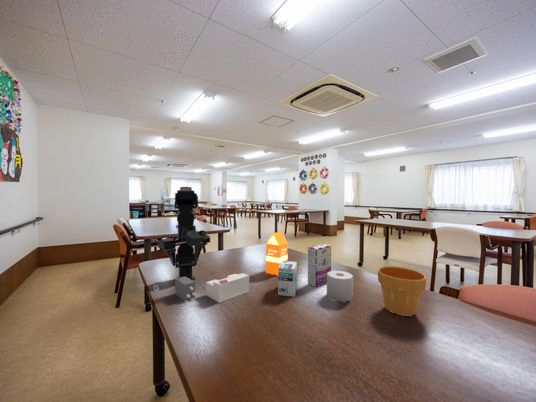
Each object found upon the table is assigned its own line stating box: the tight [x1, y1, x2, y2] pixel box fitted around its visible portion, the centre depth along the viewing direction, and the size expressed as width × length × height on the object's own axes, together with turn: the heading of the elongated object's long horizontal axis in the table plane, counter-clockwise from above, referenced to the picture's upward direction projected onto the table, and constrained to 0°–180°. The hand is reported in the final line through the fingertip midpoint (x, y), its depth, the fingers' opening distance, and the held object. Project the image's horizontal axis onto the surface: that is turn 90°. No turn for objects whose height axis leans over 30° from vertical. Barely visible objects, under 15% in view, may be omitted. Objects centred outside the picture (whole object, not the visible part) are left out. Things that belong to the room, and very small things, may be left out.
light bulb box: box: [277, 260, 298, 298], centre depth 95 cm, size 11×7×11 cm, turn 168°
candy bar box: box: [307, 243, 332, 288], centre depth 104 cm, size 11×5×16 cm, turn 131°
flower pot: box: [377, 266, 427, 315], centre depth 79 cm, size 14×14×13 cm
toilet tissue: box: [326, 270, 354, 303], centre depth 92 cm, size 9×13×9 cm
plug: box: [174, 277, 197, 302], centre depth 88 cm, size 10×4×6 cm, turn 45°
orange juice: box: [265, 231, 289, 276], centre depth 118 cm, size 8×9×20 cm
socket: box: [205, 272, 250, 304], centre depth 91 cm, size 9×14×7 cm, turn 135°
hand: (185, 263), depth 90 cm, fingers open, 9 cm apart
